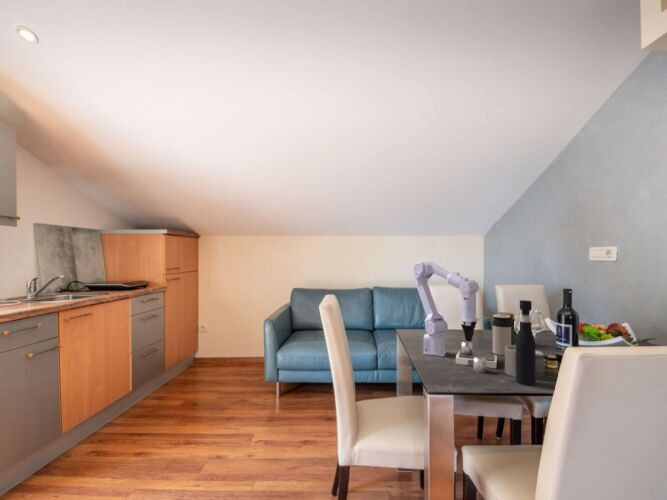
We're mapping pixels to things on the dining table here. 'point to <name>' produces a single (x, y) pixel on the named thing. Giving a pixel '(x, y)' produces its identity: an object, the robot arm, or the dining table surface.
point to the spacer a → (467, 348)
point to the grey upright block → (510, 360)
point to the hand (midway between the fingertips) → (469, 339)
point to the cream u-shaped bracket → (469, 360)
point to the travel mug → (501, 333)
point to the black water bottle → (525, 348)
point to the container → (513, 333)
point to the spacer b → (480, 364)
